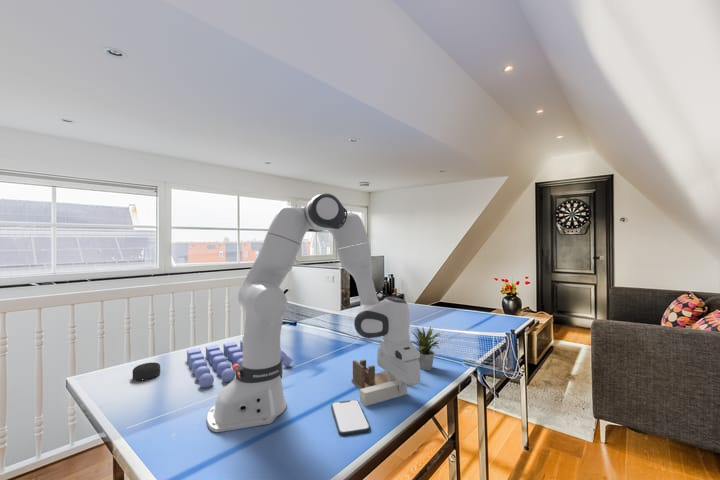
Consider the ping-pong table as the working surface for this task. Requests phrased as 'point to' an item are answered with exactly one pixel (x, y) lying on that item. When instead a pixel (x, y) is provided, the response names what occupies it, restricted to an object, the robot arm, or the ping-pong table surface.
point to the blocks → (220, 362)
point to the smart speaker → (146, 371)
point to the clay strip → (381, 392)
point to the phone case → (349, 418)
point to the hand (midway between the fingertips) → (397, 388)
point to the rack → (367, 375)
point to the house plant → (426, 348)
